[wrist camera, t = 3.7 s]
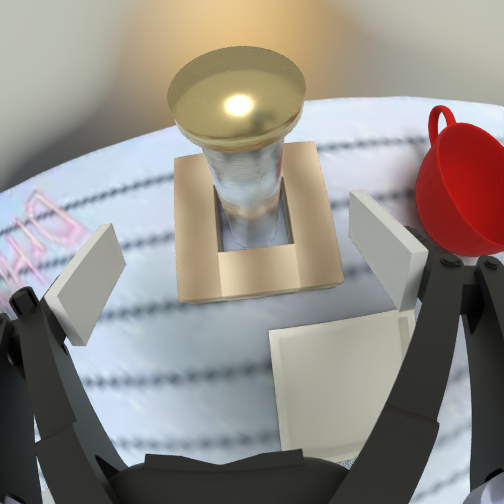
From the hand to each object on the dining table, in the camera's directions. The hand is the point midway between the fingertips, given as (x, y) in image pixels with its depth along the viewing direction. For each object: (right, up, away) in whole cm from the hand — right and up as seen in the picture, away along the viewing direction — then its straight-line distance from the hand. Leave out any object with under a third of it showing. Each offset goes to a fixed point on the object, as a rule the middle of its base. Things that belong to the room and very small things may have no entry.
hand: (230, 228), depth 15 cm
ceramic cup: (+23, +5, +14) cm, 28 cm away
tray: (+10, -14, +10) cm, 20 cm away
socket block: (+1, +1, +14) cm, 14 cm away
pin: (+1, +1, +14) cm, 14 cm away
